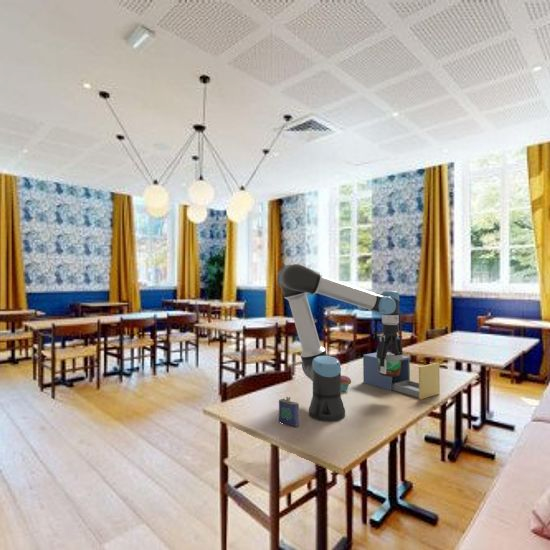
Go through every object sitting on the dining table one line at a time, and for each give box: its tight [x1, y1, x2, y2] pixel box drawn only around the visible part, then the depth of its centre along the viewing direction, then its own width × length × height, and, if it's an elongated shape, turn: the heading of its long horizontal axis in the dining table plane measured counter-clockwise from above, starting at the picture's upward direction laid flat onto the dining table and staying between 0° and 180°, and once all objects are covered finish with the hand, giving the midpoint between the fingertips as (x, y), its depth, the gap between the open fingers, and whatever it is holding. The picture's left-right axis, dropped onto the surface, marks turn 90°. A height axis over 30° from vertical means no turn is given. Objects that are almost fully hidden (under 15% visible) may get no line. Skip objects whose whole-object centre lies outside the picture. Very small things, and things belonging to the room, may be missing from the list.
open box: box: [362, 352, 411, 391], centre depth 201 cm, size 15×18×15 cm
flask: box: [278, 396, 300, 428], centre depth 148 cm, size 9×3×11 cm, turn 51°
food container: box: [376, 353, 404, 377], centre depth 176 cm, size 12×6×10 cm, turn 70°
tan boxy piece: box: [392, 362, 441, 400], centre depth 187 cm, size 15×17×15 cm
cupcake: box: [341, 375, 352, 392], centre depth 192 cm, size 9×8×12 cm
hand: (389, 372), depth 176 cm, fingers closed on food container, 8 cm apart
